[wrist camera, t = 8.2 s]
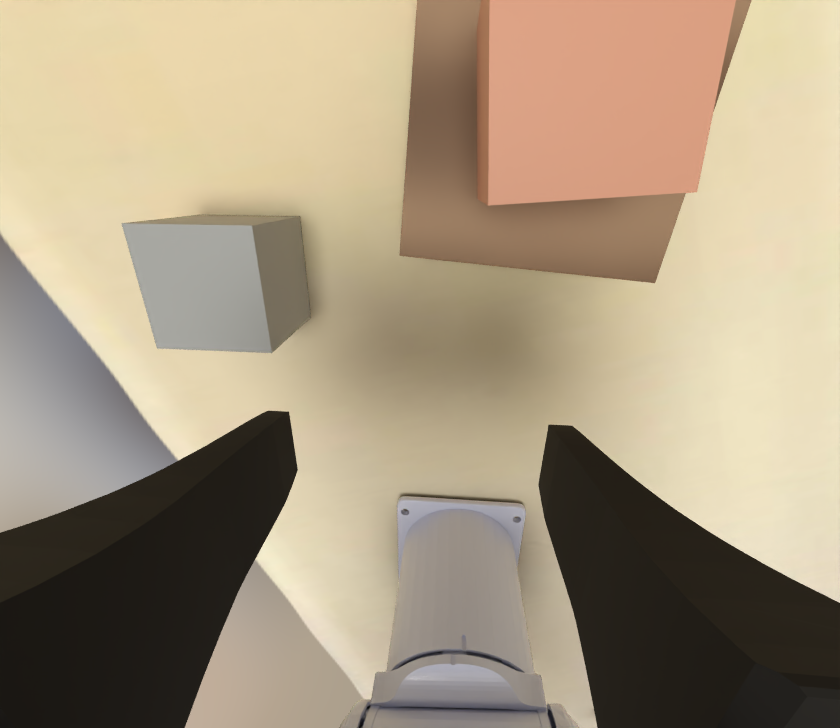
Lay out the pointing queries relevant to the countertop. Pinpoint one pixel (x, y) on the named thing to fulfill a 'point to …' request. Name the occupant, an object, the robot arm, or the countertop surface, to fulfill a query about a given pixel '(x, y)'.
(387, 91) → the countertop surface
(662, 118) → the salmon pink cube
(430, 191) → the walnut block
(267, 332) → the grey cube
